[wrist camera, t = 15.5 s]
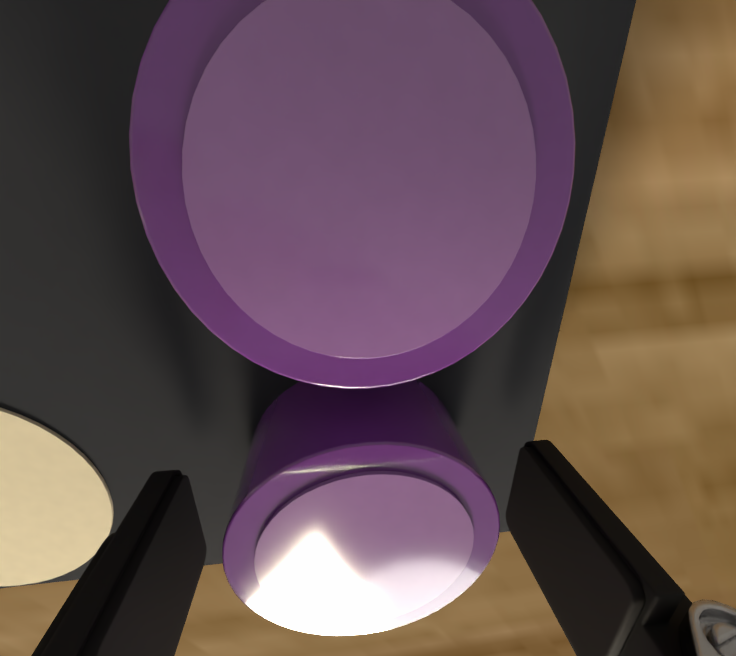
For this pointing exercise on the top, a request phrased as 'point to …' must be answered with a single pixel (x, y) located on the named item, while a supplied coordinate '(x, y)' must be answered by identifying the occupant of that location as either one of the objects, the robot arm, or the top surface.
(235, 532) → the dish
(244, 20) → the dish
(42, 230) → the mat
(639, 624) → the robot arm
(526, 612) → the top surface
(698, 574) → the top surface
